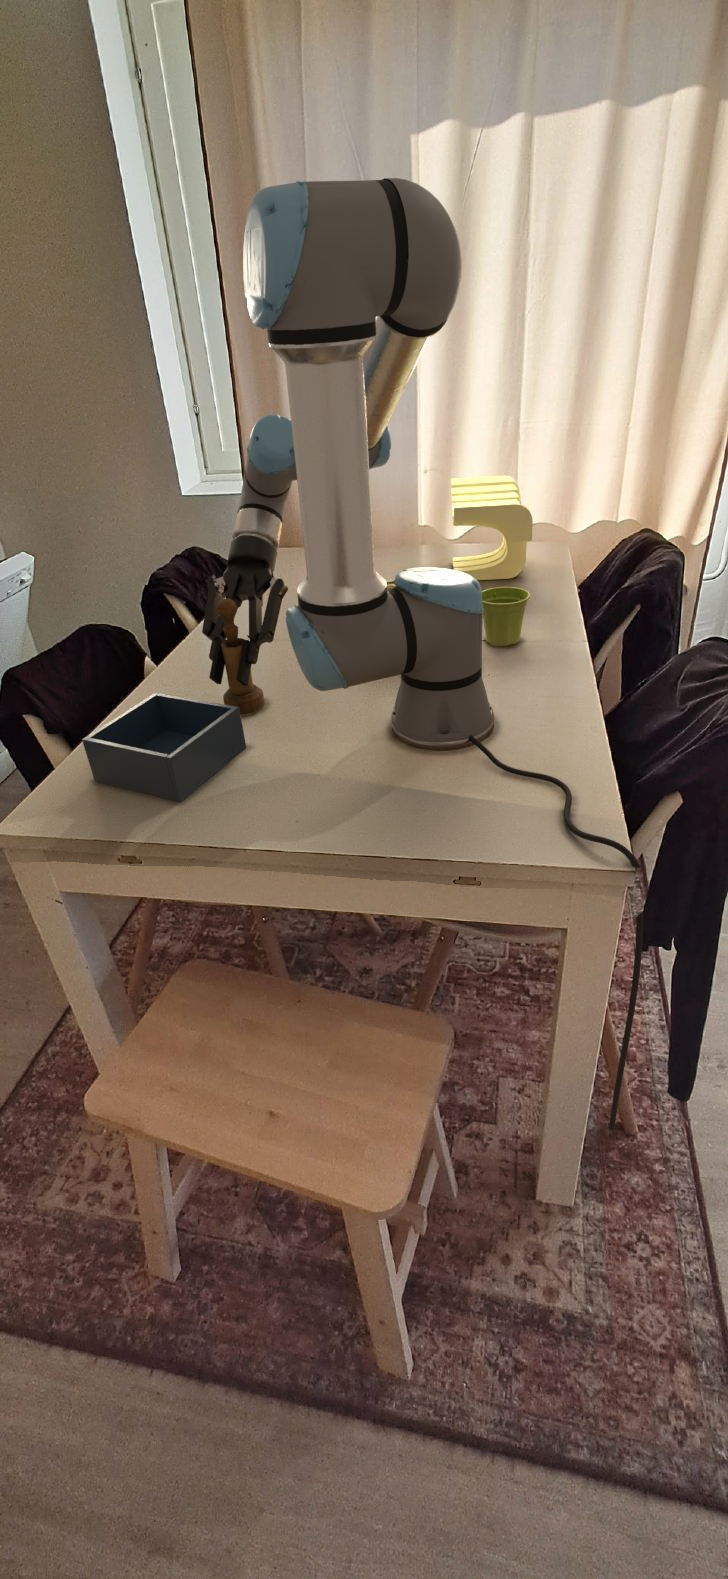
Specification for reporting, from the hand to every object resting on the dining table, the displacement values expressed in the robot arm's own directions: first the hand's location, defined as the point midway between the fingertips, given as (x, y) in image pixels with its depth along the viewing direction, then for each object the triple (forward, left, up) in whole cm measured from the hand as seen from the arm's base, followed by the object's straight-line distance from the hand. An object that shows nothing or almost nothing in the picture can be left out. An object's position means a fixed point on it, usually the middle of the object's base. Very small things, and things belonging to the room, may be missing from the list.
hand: (228, 681), depth 119 cm
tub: (-5, +15, -6) cm, 17 cm away
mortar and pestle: (+2, -3, -6) cm, 7 cm away
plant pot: (-14, -50, -7) cm, 53 cm away
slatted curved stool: (+15, -82, -7) cm, 84 cm away
